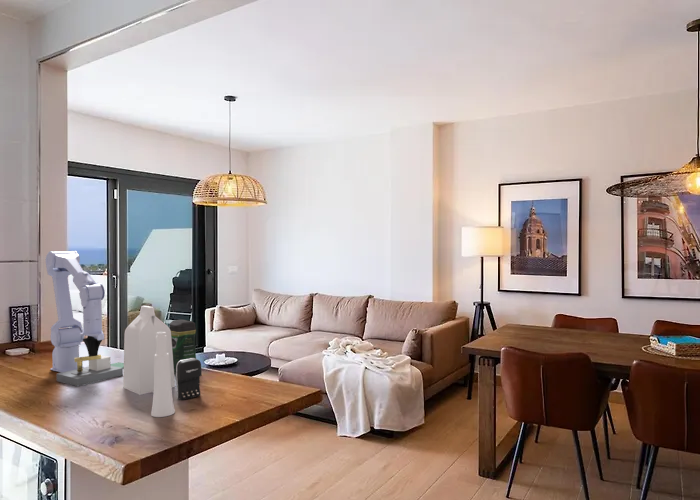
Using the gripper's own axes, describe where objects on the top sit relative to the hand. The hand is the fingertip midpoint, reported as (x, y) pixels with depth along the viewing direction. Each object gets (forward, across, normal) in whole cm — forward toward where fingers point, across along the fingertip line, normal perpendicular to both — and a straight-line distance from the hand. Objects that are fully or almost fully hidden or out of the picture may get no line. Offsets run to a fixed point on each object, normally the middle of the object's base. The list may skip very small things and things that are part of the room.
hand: (93, 358), depth 175 cm
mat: (+7, -10, +11) cm, 16 cm away
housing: (+7, 0, -1) cm, 7 cm away
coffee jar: (+7, +16, +25) cm, 30 cm away
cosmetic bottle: (+6, +54, -2) cm, 55 cm away
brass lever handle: (+4, 0, -2) cm, 4 cm away
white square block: (+4, -1, +2) cm, 5 cm away
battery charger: (+6, +47, +10) cm, 49 cm away
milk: (+7, +26, +7) cm, 28 cm away
